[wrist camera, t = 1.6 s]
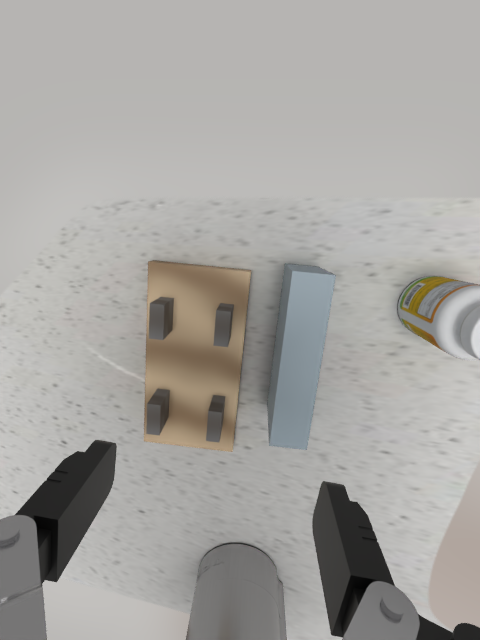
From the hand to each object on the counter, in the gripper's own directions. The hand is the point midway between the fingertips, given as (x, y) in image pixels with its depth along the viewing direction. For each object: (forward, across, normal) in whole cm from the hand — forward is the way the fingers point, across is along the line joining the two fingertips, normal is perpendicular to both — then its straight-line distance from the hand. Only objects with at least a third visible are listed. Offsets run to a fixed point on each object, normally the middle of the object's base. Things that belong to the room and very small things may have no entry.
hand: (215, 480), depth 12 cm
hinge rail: (+19, +4, +3) cm, 20 cm away
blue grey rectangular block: (+20, -5, 0) cm, 20 cm away
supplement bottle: (+20, -16, -6) cm, 26 cm away
